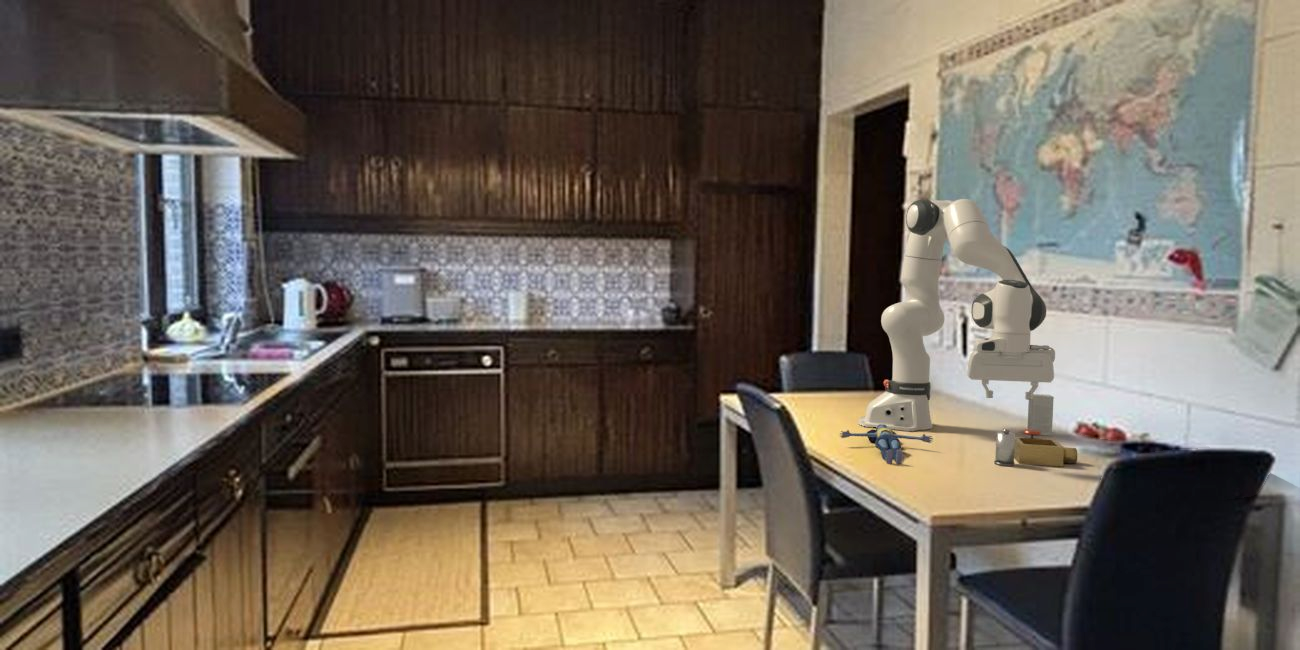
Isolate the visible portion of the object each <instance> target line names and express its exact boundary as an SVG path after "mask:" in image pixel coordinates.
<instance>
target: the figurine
mask: <svg viewBox="0 0 1300 650" xmlns="http://www.w3.org/2000/svg"><path fill="white" fill-rule="evenodd" d="M839 437H840V438H841V439H844V438H849V437H867V438H868V441H869V442H870V443H873V444H875V447H876V448H877V449H878V450H879V451H880V452H881V458H882V459H883V460H884V461H885V462H886V464H887V465H891V464H892V463H893V460H894V462H895V464H896V465H901V464H902V462H903V457H904V452H903V451H902V450H901V448H902V445H901V441H900V439H906V440H919V441H921V442H925V443H929V444H931V443H932V442H933V440H934V438H933V435H926V434H925V433H923V434H922V435H921V436H913V435H912V436H911V435H904V434H897V433H896V432H895V431H893V429H888V428H887V426H886V425H883V424H880V425H878V426H877V428H875V429H874V428H873V429H870V430H868V431H867V432H863V433H862V432H861V433H857V432H856V433H852V432H850V430H849V429H847V430H845V431H842V430H841V431H840V433H839Z"/></svg>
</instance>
